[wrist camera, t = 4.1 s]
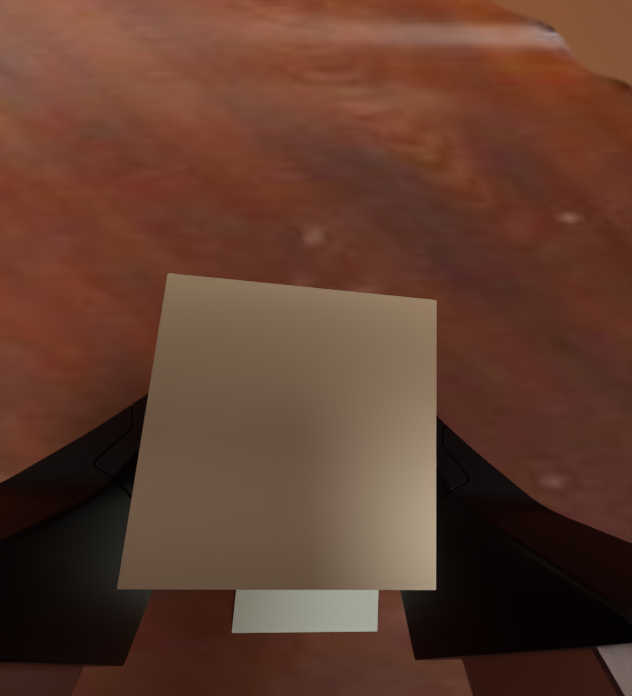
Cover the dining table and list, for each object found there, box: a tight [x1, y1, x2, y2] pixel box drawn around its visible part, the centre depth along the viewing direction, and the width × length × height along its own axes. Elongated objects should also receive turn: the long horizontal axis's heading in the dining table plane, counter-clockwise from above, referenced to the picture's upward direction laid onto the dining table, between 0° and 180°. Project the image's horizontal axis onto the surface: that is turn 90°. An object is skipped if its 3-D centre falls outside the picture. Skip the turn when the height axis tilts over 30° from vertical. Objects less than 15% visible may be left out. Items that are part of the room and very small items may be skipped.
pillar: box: [117, 273, 437, 590], centre depth 9 cm, size 4×4×12 cm
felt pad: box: [232, 590, 378, 633], centre depth 14 cm, size 8×8×1 cm
